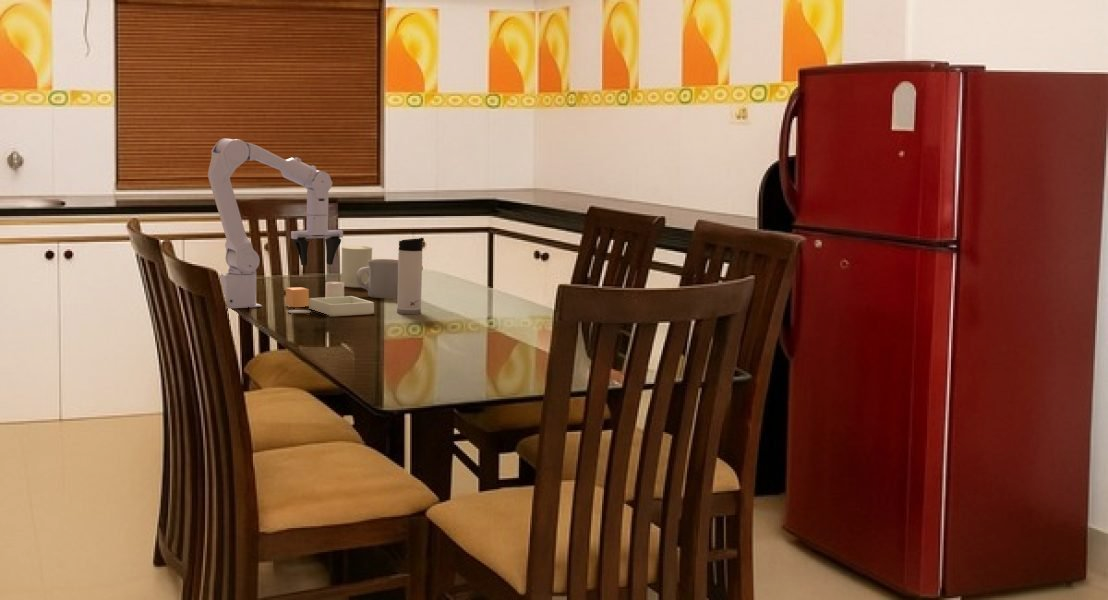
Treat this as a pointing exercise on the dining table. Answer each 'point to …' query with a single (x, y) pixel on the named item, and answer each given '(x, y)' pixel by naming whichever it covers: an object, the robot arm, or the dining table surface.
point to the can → (354, 264)
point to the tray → (341, 306)
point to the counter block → (297, 297)
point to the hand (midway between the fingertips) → (316, 264)
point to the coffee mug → (380, 278)
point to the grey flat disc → (299, 311)
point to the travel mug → (409, 276)
